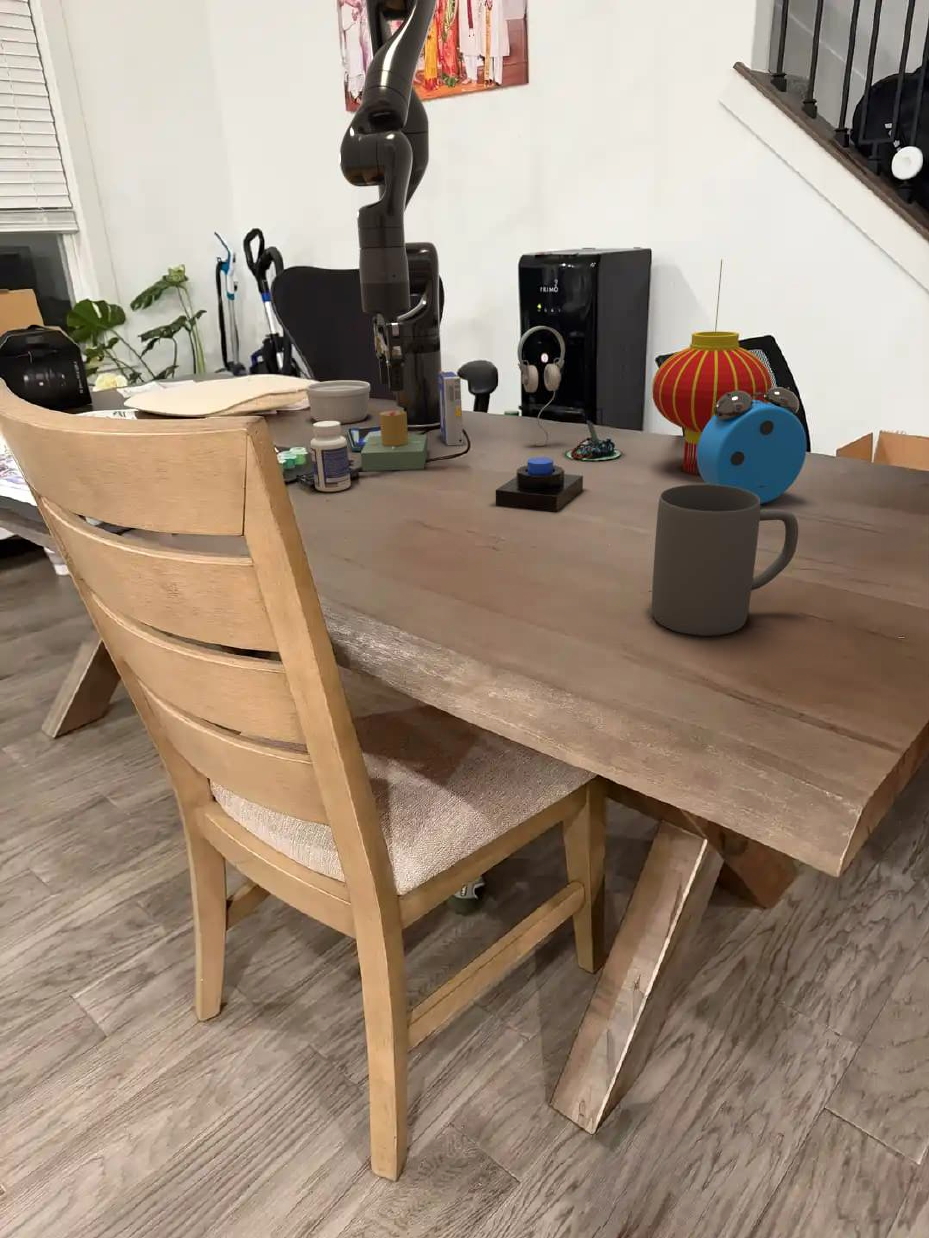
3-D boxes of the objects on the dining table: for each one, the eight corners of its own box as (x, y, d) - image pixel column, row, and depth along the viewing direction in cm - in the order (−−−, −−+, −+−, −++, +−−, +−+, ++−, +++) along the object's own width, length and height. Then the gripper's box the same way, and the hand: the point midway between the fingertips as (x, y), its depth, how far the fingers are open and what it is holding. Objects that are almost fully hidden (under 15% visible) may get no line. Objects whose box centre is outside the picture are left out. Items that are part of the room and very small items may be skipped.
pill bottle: (357, 484, 130) (351, 420, 125) (338, 494, 125) (332, 428, 121) (328, 481, 132) (321, 418, 128) (308, 490, 127) (300, 426, 123)
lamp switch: (525, 484, 126) (525, 458, 125) (582, 490, 123) (583, 463, 121) (495, 505, 117) (495, 477, 116) (556, 512, 114) (556, 483, 112)
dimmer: (370, 453, 148) (369, 435, 146) (427, 451, 147) (426, 433, 146) (362, 471, 137) (360, 451, 135) (423, 469, 137) (422, 450, 135)
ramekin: (377, 412, 182) (375, 379, 179) (365, 425, 170) (363, 390, 167) (317, 413, 183) (314, 380, 180) (301, 426, 171) (297, 391, 168)
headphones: (559, 441, 151) (560, 324, 143) (567, 446, 148) (569, 326, 139) (515, 445, 149) (514, 327, 141) (522, 450, 146) (521, 329, 138)
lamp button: (533, 468, 121) (532, 456, 120) (556, 470, 119) (556, 458, 118) (523, 475, 118) (523, 462, 117) (547, 477, 116) (547, 464, 116)
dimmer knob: (383, 440, 143) (380, 408, 141) (409, 439, 143) (407, 408, 141) (380, 446, 139) (378, 414, 137) (407, 445, 139) (405, 413, 137)
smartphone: (352, 447, 148) (346, 428, 162) (352, 453, 149) (346, 433, 162) (393, 444, 150) (384, 425, 163) (394, 449, 150) (385, 430, 163)
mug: (669, 641, 77) (679, 515, 72) (638, 602, 86) (644, 487, 81) (810, 628, 79) (829, 504, 74) (765, 591, 87) (780, 477, 82)
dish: (612, 447, 135) (588, 414, 138) (578, 476, 138) (556, 443, 141) (632, 460, 142) (609, 428, 145) (599, 488, 145) (577, 456, 148)
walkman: (440, 436, 158) (437, 370, 153) (455, 435, 158) (452, 369, 153) (447, 446, 151) (444, 377, 146) (463, 444, 151) (460, 376, 146)
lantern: (784, 468, 129) (811, 256, 117) (715, 491, 120) (737, 263, 107) (693, 450, 142) (709, 256, 129) (624, 470, 132) (633, 262, 119)
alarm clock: (776, 490, 119) (789, 381, 113) (801, 502, 114) (817, 389, 108) (691, 499, 117) (700, 389, 110) (713, 512, 111) (724, 396, 105)
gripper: (417, 280, 125) (423, 392, 131) (400, 277, 137) (406, 379, 144) (367, 282, 123) (375, 395, 130) (354, 279, 136) (362, 382, 142)
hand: (392, 387), depth 137 cm, fingers open, 8 cm apart
